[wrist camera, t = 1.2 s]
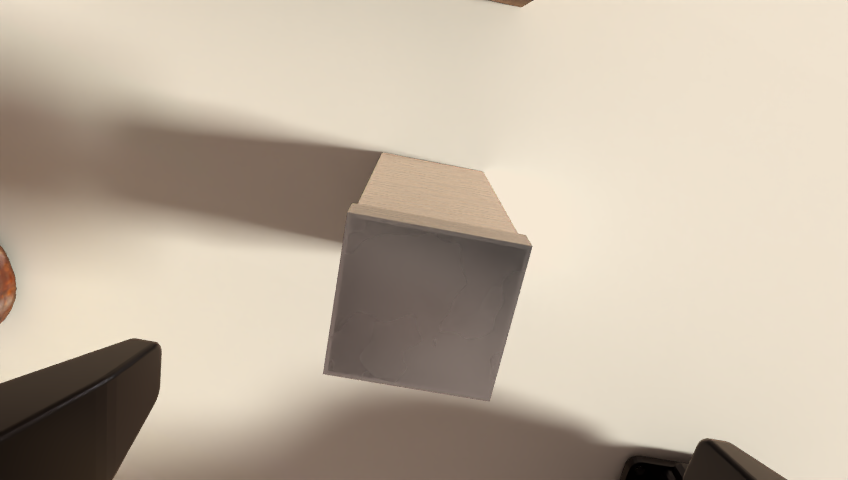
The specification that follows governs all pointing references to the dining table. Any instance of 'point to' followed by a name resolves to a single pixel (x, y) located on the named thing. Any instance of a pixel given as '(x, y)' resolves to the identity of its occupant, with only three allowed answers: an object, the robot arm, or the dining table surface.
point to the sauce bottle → (6, 285)
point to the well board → (514, 2)
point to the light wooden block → (426, 281)
